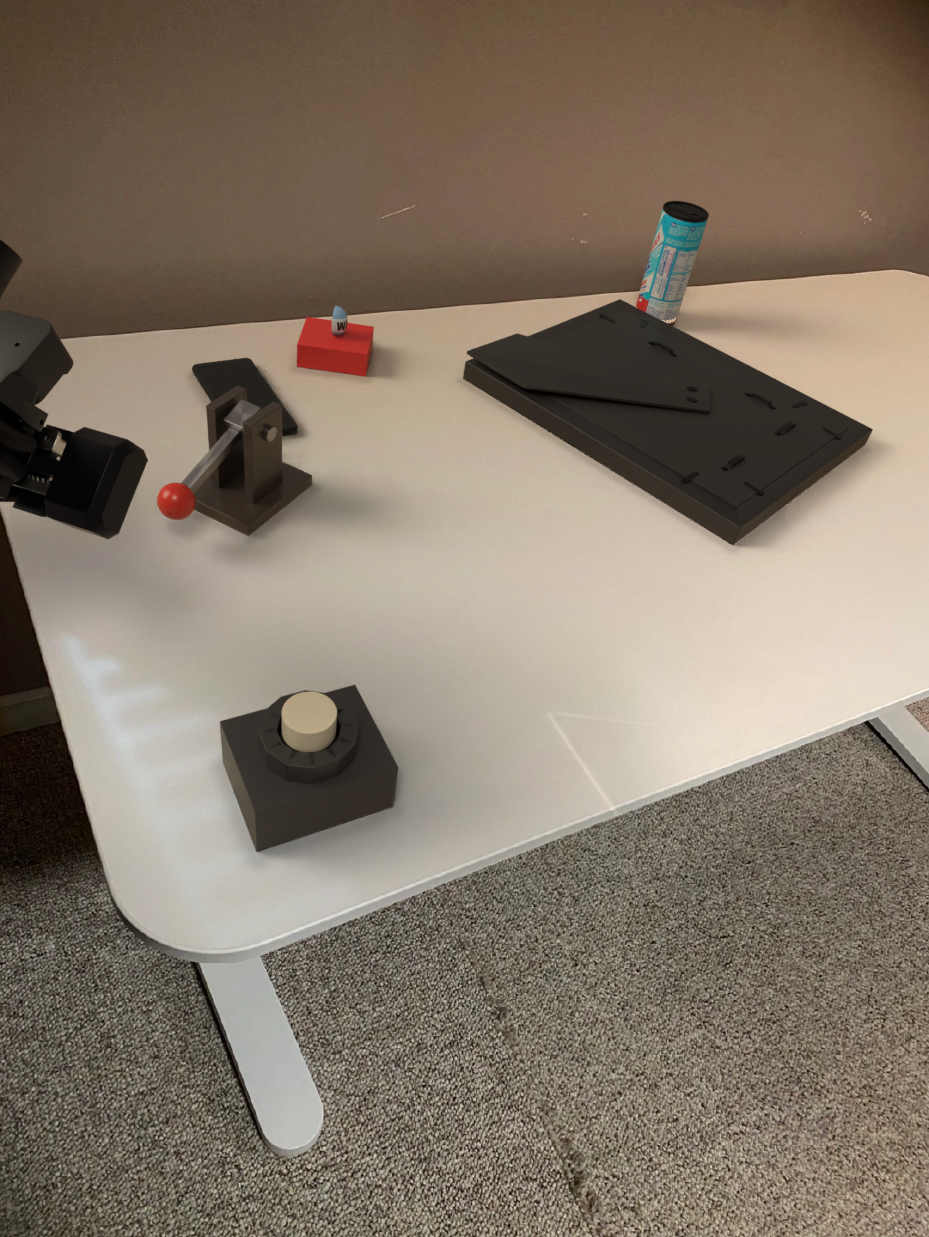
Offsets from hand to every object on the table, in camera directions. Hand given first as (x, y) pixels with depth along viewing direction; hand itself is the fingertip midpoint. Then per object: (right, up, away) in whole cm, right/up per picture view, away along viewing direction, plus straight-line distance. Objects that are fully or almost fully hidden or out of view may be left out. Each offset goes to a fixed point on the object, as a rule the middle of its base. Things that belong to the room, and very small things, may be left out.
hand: (83, 495), depth 68 cm
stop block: (+17, -21, -2) cm, 27 cm away
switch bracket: (+7, +3, +21) cm, 22 cm away
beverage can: (+54, +32, +61) cm, 87 cm away
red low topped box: (+13, +22, +42) cm, 49 cm away
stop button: (+18, -17, -6) cm, 25 cm away
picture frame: (+52, +15, +43) cm, 69 cm away
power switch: (+6, +4, +15) cm, 16 cm away
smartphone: (+4, +14, +32) cm, 36 cm away
